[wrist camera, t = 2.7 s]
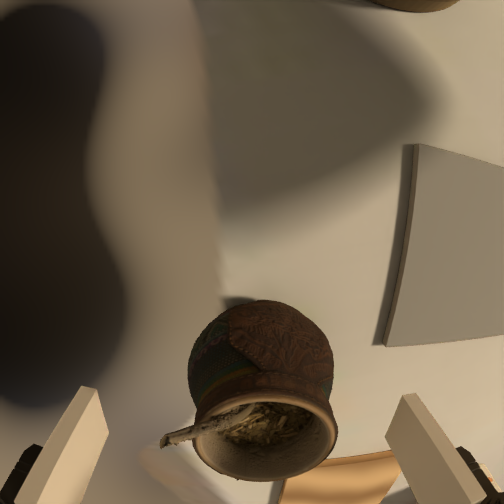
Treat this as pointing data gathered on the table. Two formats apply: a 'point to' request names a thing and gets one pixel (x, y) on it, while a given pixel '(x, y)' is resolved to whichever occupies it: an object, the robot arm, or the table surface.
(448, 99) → the table surface
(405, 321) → the felt pad
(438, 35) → the table surface
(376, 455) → the square wooden coaster
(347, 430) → the table surface
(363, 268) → the table surface
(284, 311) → the mate gourd
